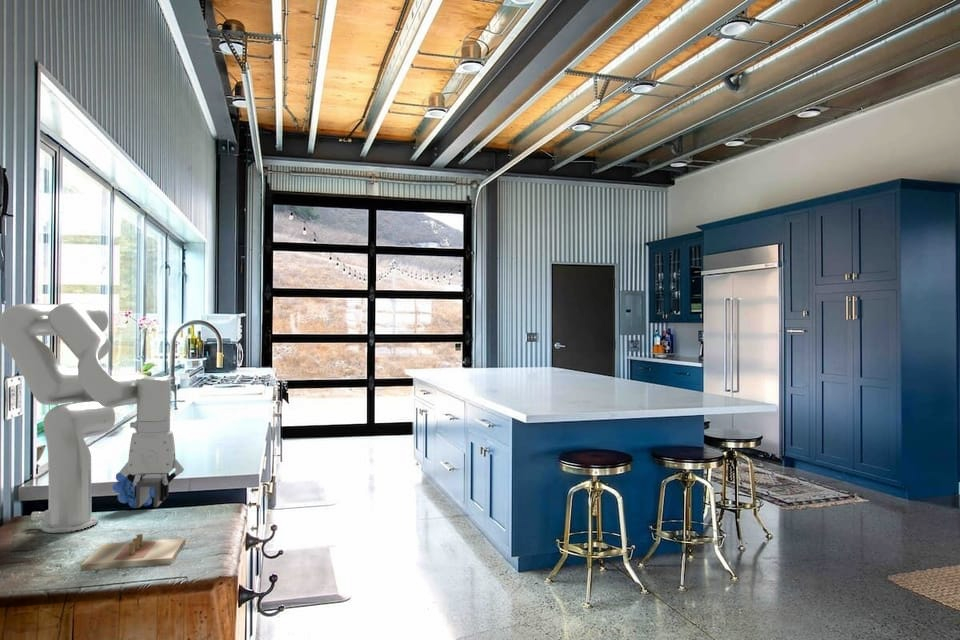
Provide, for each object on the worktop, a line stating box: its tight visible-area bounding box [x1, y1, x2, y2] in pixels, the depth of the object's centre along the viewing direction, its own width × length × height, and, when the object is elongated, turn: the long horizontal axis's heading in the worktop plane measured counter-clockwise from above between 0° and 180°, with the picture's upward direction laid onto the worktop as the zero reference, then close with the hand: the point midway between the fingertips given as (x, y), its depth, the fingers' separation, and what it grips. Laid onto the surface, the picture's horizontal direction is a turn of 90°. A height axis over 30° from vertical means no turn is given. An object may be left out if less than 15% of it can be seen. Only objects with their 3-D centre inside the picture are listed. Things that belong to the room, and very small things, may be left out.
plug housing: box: [135, 474, 163, 509], centre depth 170 cm, size 5×9×6 cm, turn 12°
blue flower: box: [112, 471, 154, 509], centre depth 193 cm, size 12×7×12 cm, turn 119°
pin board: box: [80, 533, 186, 571], centre depth 154 cm, size 18×14×4 cm
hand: (151, 499), depth 170 cm, fingers closed on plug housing, 4 cm apart
